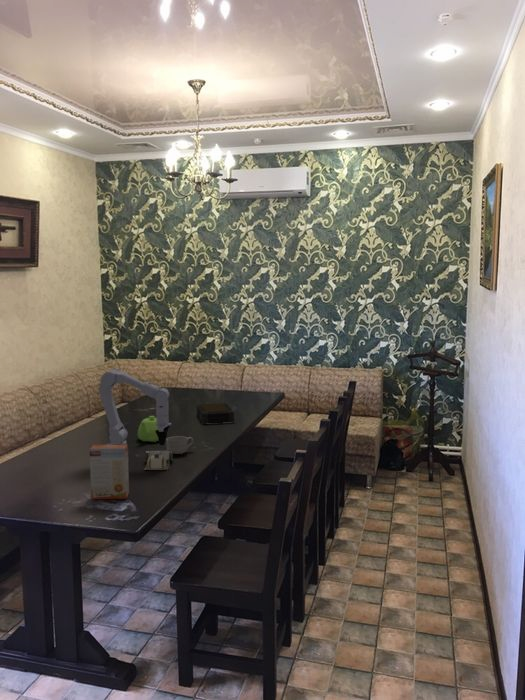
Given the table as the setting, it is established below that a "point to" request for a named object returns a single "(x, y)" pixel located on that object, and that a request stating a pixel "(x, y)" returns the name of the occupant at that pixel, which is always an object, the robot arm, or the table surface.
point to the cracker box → (109, 471)
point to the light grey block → (156, 461)
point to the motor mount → (166, 455)
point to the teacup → (178, 444)
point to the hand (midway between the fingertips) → (162, 442)
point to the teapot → (148, 430)
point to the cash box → (215, 413)
